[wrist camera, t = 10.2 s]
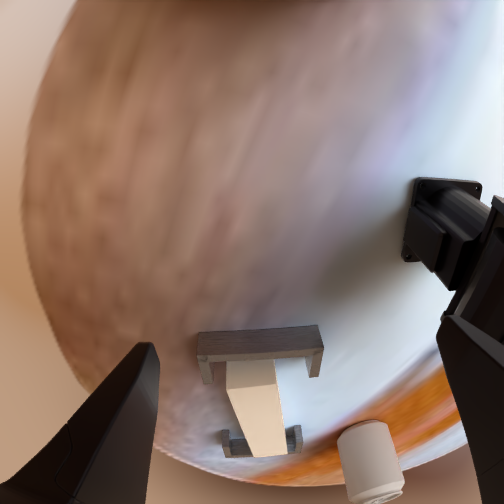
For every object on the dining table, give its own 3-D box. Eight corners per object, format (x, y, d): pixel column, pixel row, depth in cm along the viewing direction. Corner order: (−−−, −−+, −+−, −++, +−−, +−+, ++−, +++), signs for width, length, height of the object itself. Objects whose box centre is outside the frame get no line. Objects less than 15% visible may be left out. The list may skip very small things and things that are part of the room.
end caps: (317, 325, 24) (324, 347, 22) (298, 437, 36) (300, 452, 33) (199, 332, 24) (196, 355, 22) (225, 441, 35) (225, 457, 33)
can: (395, 420, 36) (417, 489, 26) (357, 443, 39) (373, 508, 29) (365, 413, 34) (388, 494, 23) (324, 438, 37) (339, 513, 26)
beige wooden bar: (272, 346, 26) (276, 383, 23) (284, 426, 34) (287, 453, 31) (226, 352, 26) (226, 389, 23) (252, 430, 34) (254, 457, 31)
